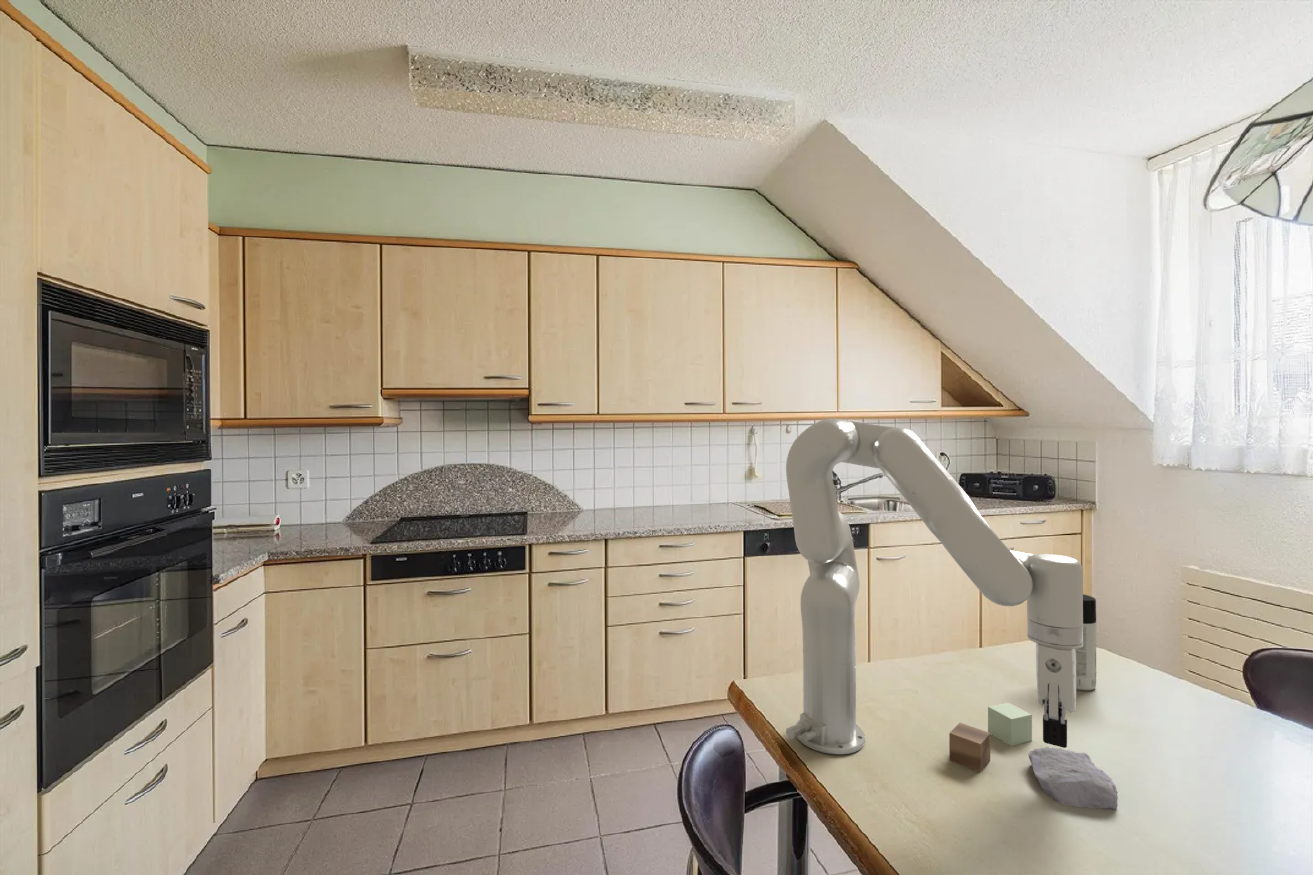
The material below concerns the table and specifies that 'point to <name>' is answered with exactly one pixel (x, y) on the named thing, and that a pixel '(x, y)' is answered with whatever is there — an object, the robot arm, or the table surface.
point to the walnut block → (969, 747)
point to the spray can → (1087, 648)
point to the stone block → (1073, 778)
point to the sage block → (1010, 723)
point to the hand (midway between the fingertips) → (1055, 742)
